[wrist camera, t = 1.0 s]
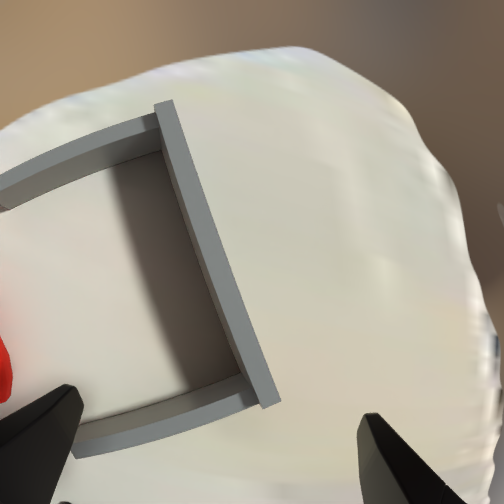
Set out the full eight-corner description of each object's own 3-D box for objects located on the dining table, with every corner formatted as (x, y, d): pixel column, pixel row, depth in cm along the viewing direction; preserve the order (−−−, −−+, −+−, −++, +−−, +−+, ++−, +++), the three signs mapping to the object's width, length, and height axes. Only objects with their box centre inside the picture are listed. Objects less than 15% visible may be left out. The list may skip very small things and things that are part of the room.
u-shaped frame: (88, 437, 18) (72, 466, 13) (7, 195, 18) (-21, 178, 14) (262, 380, 21) (281, 401, 17) (172, 131, 22) (172, 99, 17)
